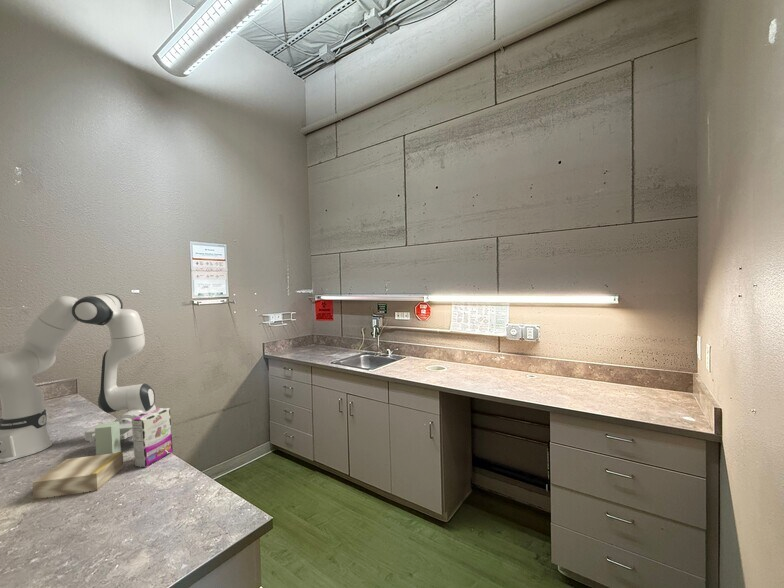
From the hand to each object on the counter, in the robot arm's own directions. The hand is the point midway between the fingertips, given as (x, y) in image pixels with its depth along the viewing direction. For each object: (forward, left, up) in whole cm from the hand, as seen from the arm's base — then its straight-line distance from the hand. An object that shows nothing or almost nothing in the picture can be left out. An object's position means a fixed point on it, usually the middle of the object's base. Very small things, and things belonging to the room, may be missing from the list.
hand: (107, 439), depth 122 cm
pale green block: (0, 0, -7) cm, 7 cm away
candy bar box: (+17, -6, -7) cm, 19 cm away
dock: (+1, -16, -7) cm, 17 cm away
